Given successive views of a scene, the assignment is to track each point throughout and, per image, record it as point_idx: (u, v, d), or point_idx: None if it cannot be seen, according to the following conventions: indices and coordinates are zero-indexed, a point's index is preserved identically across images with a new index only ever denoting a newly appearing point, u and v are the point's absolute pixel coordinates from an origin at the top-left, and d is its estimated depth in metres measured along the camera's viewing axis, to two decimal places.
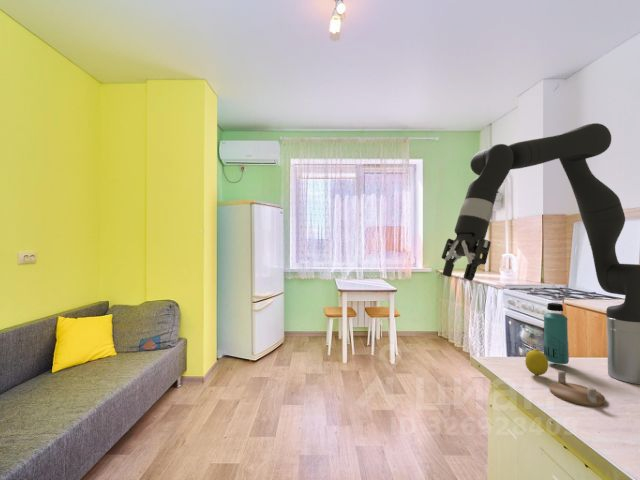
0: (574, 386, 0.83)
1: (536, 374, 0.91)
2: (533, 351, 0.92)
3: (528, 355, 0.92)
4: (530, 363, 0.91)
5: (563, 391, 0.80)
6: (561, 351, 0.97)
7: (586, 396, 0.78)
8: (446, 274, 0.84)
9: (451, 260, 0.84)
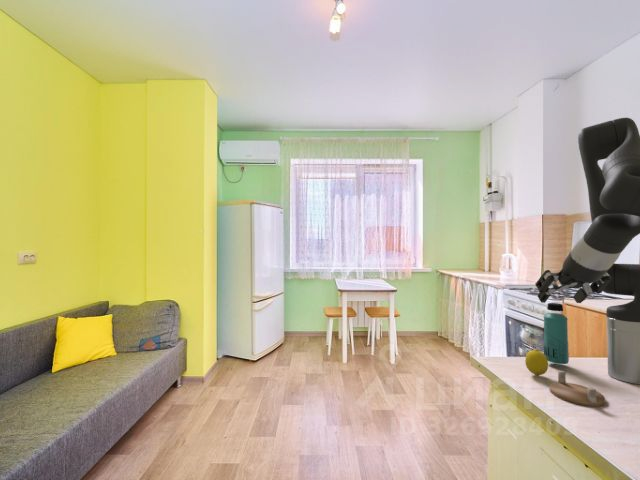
0: (574, 386, 0.83)
1: (536, 374, 0.91)
2: (533, 351, 0.92)
3: (528, 355, 0.92)
4: (530, 363, 0.91)
5: (563, 391, 0.80)
6: (560, 350, 0.97)
7: (586, 396, 0.78)
8: None
9: None
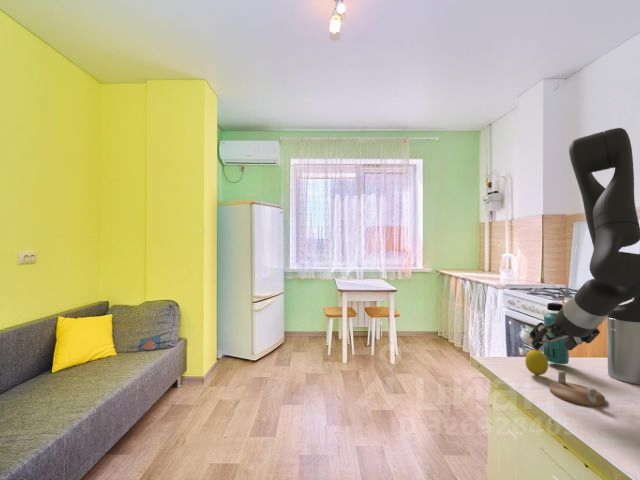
0: (574, 386, 0.83)
1: (536, 374, 0.91)
2: (533, 351, 0.92)
3: (528, 355, 0.92)
4: (530, 363, 0.91)
5: (563, 391, 0.80)
6: (560, 351, 0.97)
7: (586, 396, 0.78)
8: None
9: None
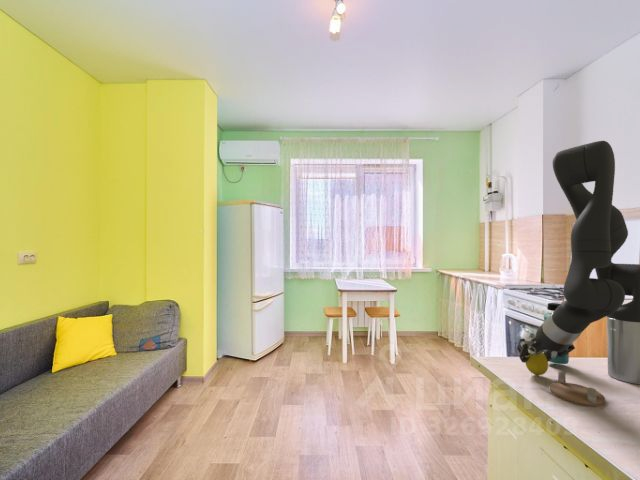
0: (574, 386, 0.83)
1: (536, 374, 0.91)
2: None
3: None
4: (530, 363, 0.91)
5: (563, 391, 0.80)
6: None
7: (586, 396, 0.78)
8: None
9: None
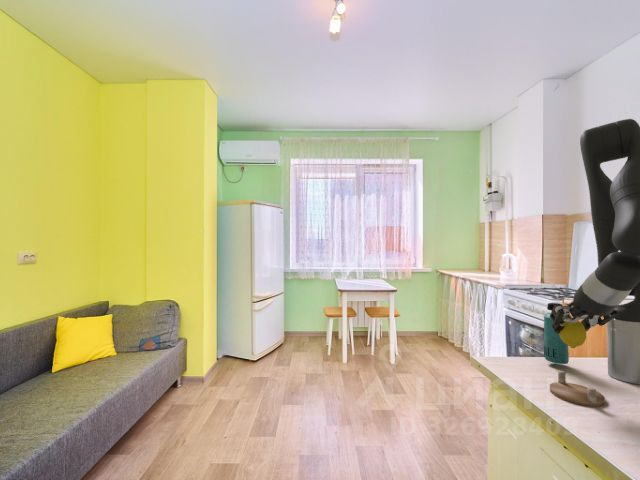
0: (574, 386, 0.83)
1: (572, 345, 0.80)
2: None
3: None
4: (565, 332, 0.80)
5: (563, 391, 0.80)
6: (560, 350, 0.97)
7: (586, 396, 0.78)
8: None
9: None
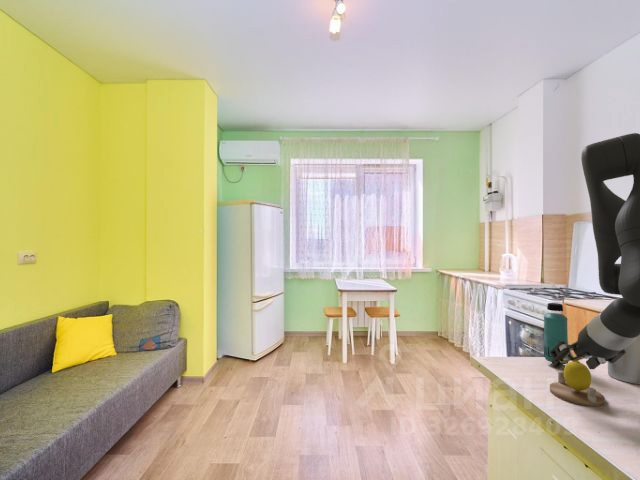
0: None
1: (577, 389, 0.79)
2: (573, 363, 0.80)
3: (567, 367, 0.80)
4: (570, 376, 0.79)
5: (563, 391, 0.80)
6: None
7: (586, 396, 0.78)
8: None
9: None
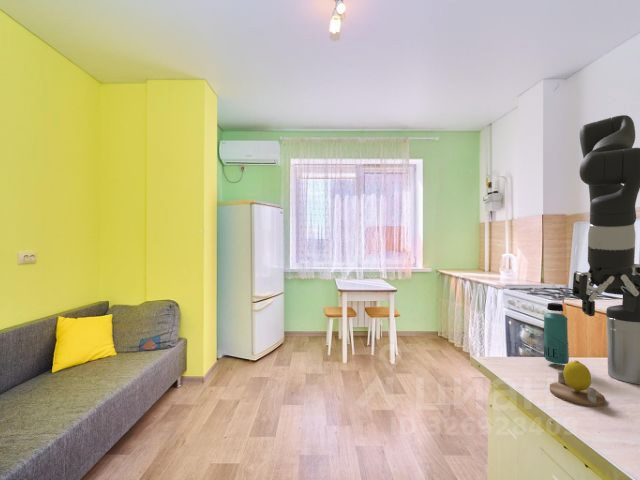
0: None
1: (577, 390, 0.79)
2: (573, 363, 0.80)
3: (567, 367, 0.80)
4: (570, 376, 0.79)
5: (563, 391, 0.80)
6: (561, 351, 0.97)
7: (586, 396, 0.78)
8: None
9: None
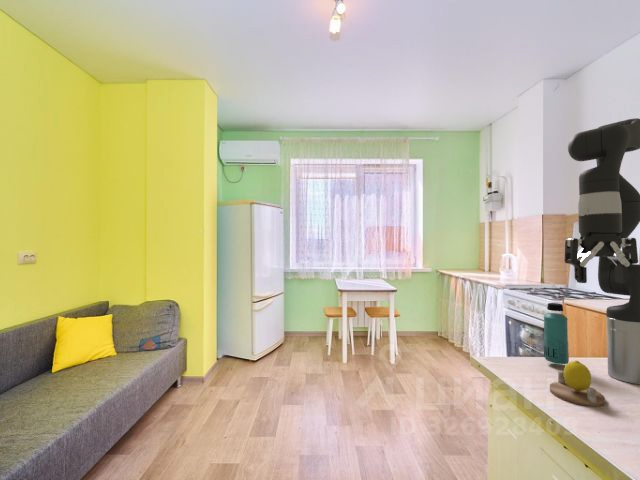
0: None
1: (577, 390, 0.79)
2: (573, 363, 0.80)
3: (567, 368, 0.80)
4: (570, 377, 0.79)
5: (563, 391, 0.80)
6: (561, 351, 0.97)
7: (586, 396, 0.78)
8: None
9: None
